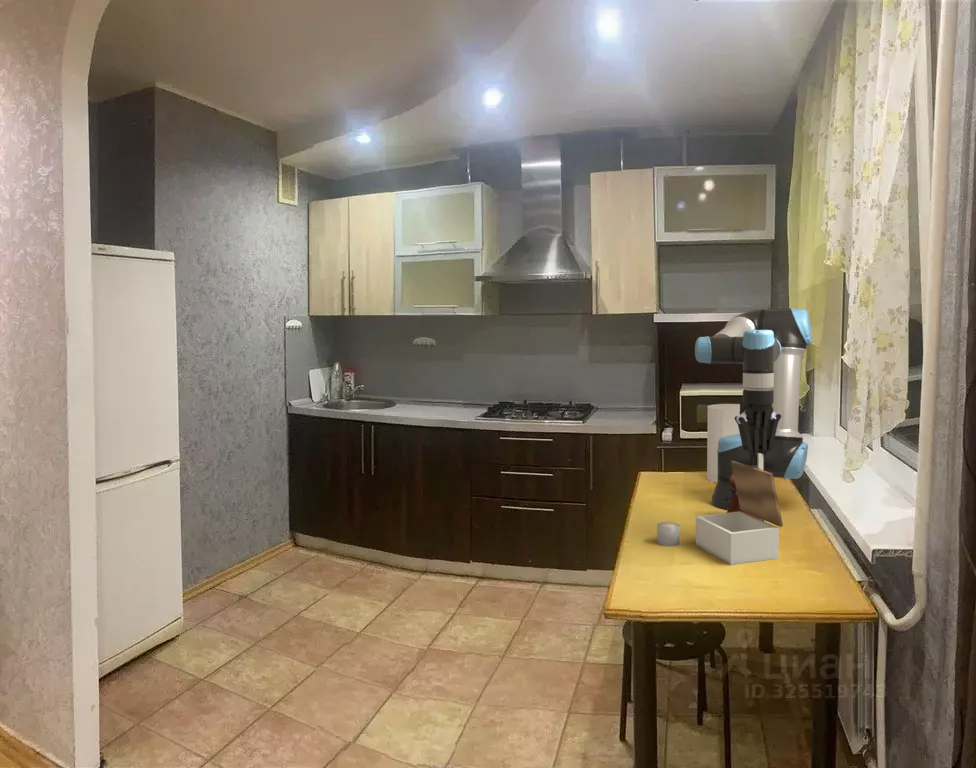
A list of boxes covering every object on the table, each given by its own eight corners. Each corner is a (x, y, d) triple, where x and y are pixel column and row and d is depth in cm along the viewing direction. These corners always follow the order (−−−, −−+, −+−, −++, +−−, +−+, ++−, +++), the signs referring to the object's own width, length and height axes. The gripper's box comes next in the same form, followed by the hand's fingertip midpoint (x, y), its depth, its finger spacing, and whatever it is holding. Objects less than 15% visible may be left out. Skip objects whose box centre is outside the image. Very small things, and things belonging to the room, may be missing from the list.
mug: (760, 537, 189) (761, 485, 188) (717, 532, 195) (718, 481, 193) (765, 520, 205) (766, 471, 204) (726, 515, 211) (726, 468, 209)
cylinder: (699, 481, 255) (700, 407, 252) (717, 472, 268) (717, 402, 266) (745, 487, 244) (746, 411, 241) (761, 478, 257) (762, 405, 254)
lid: (740, 510, 188) (744, 508, 188) (780, 527, 172) (784, 525, 172) (730, 461, 186) (734, 460, 186) (770, 474, 170) (774, 472, 170)
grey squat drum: (672, 538, 191) (672, 520, 190) (683, 544, 185) (683, 526, 184) (653, 540, 189) (653, 522, 189) (664, 547, 183) (664, 529, 183)
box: (739, 539, 188) (740, 511, 188) (778, 558, 173) (778, 528, 172) (695, 544, 185) (695, 516, 184) (730, 564, 169) (731, 533, 169)
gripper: (769, 386, 182) (768, 472, 184) (727, 389, 178) (727, 476, 180) (788, 388, 174) (788, 478, 177) (746, 391, 171) (745, 482, 173)
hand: (757, 477), depth 178 cm, fingers closed
